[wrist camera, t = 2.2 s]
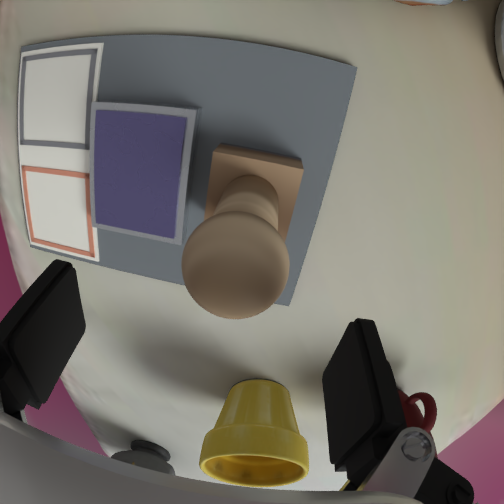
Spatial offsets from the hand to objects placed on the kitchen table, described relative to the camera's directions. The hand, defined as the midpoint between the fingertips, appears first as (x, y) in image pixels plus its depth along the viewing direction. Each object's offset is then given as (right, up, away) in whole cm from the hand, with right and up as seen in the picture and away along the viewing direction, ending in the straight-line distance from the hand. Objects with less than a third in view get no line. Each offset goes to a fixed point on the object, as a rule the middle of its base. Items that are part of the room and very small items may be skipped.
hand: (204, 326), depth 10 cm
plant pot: (+3, -13, +23) cm, 27 cm away
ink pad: (-6, +8, +10) cm, 15 cm away
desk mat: (-6, +8, +10) cm, 15 cm away
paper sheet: (-13, +10, +10) cm, 19 cm away
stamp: (+2, +7, +10) cm, 12 cm away
